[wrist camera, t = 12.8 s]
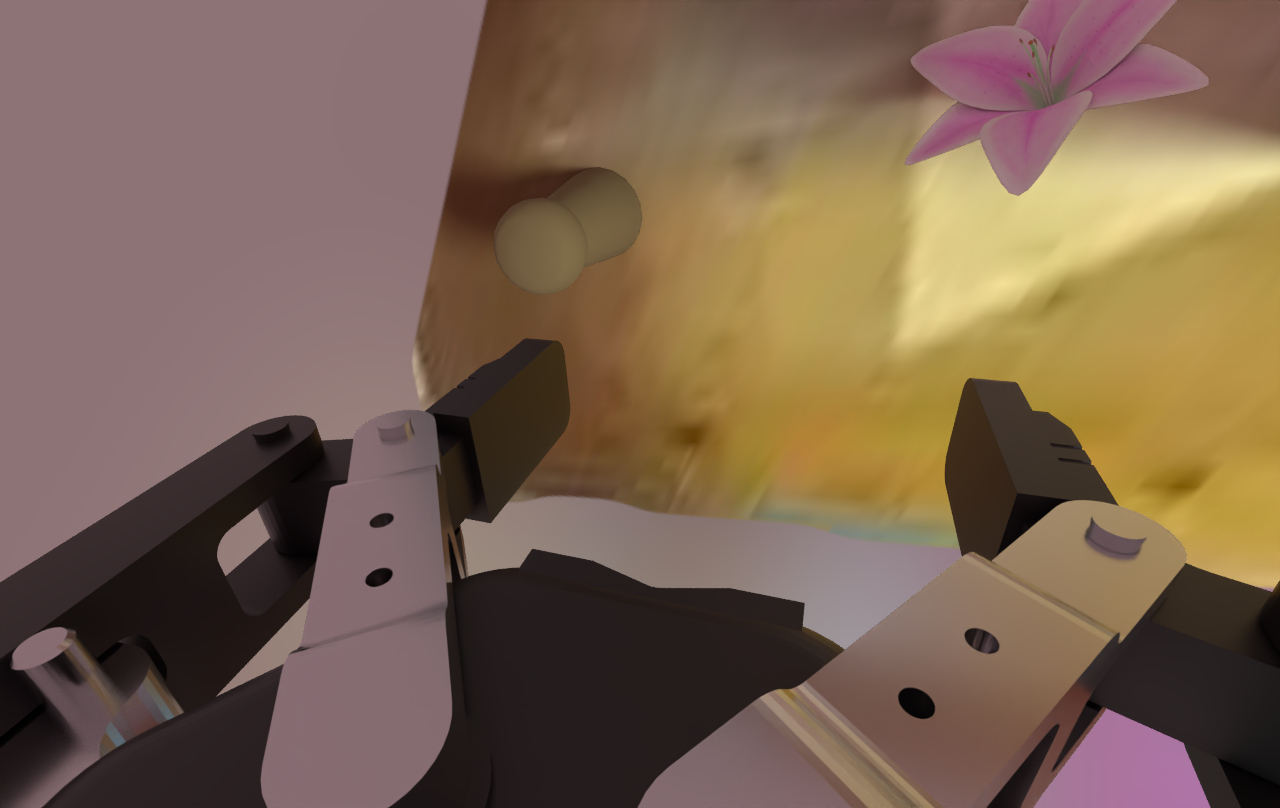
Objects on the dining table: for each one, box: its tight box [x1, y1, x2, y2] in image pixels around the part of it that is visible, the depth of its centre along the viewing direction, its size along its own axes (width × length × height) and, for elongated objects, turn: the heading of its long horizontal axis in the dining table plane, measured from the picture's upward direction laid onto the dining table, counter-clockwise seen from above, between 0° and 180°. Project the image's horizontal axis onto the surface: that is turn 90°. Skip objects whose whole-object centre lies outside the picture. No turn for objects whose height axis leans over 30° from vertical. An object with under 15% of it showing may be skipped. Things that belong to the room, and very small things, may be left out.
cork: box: [494, 167, 642, 295], centre depth 36 cm, size 6×6×11 cm
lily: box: [905, 0, 1209, 196], centre depth 27 cm, size 12×12×10 cm
